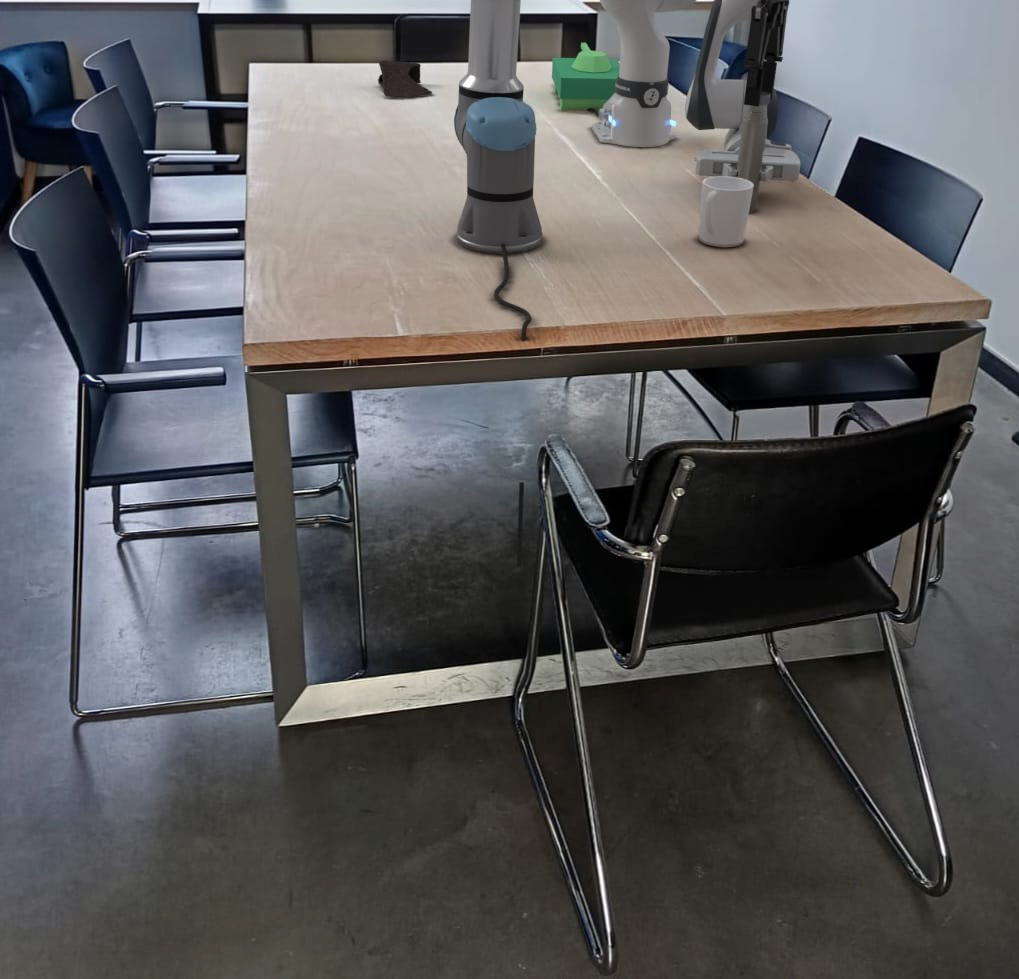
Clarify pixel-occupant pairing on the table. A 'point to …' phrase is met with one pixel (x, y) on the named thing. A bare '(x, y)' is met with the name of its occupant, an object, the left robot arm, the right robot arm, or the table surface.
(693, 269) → the table surface
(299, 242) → the table surface
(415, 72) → the axe head
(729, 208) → the mug
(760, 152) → the bottle
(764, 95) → the cap
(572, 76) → the toy tank
